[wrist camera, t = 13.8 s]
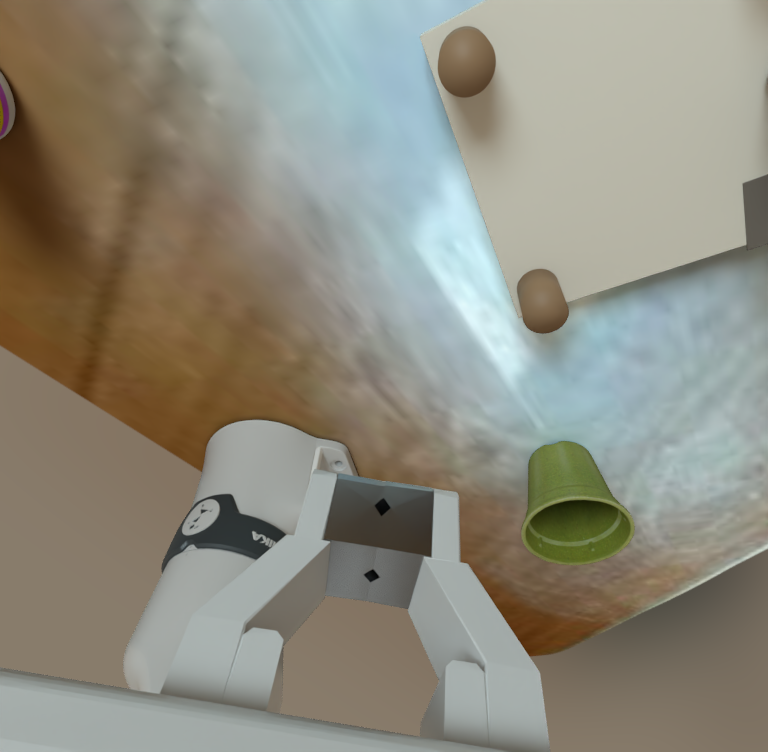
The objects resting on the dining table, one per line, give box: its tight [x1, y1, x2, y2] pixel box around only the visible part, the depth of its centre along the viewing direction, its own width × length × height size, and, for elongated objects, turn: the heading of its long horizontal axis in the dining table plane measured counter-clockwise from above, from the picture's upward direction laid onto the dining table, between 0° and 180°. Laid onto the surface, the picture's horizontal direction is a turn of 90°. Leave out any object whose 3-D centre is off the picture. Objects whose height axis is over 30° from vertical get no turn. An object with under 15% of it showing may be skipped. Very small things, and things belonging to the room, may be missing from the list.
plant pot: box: [521, 441, 635, 565], centre depth 49 cm, size 9×9×9 cm
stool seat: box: [420, 0, 768, 333], centre depth 31 cm, size 20×20×6 cm
